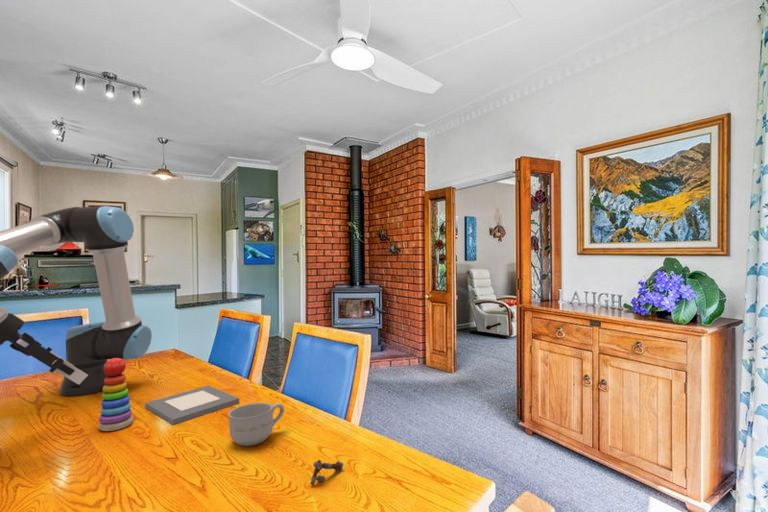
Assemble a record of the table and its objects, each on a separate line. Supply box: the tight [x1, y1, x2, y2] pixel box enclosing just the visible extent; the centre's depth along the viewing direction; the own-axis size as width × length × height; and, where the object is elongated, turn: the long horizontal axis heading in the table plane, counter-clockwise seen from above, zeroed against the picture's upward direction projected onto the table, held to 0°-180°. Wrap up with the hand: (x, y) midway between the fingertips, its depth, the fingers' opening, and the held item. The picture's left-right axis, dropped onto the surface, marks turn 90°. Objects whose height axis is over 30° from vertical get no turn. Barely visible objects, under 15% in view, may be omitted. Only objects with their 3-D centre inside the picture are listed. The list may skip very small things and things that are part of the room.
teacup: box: [227, 402, 285, 447], centre depth 98 cm, size 14×11×8 cm
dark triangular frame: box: [310, 459, 344, 486], centre depth 81 cm, size 2×8×4 cm, turn 141°
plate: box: [144, 385, 240, 426], centre depth 121 cm, size 20×20×2 cm
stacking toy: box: [98, 358, 134, 432], centre depth 107 cm, size 8×8×19 cm
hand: (76, 374), depth 100 cm, fingers open, 13 cm apart
